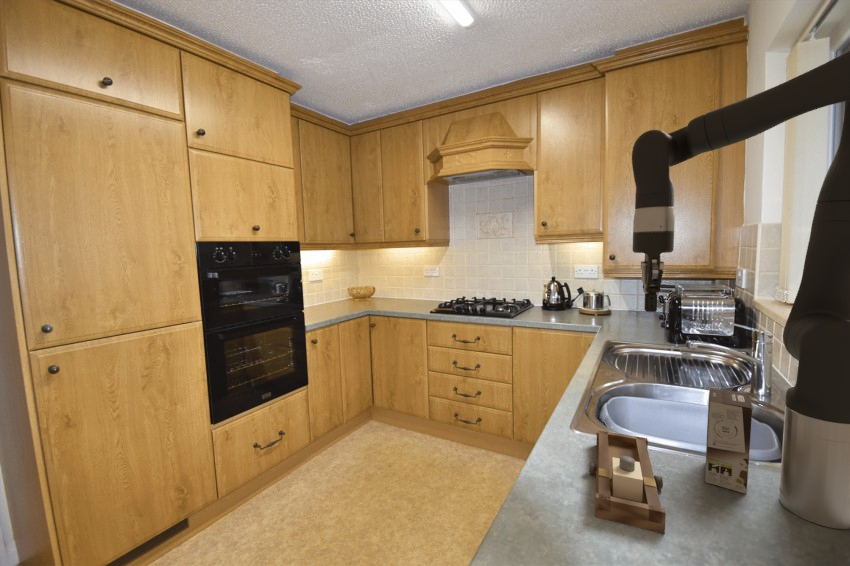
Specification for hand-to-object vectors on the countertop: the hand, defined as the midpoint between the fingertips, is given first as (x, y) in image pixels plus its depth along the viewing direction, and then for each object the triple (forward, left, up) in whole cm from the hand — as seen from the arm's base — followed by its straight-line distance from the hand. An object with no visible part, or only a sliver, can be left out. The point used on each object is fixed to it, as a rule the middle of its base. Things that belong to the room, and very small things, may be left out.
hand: (650, 311), depth 84 cm
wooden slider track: (+5, +15, -31) cm, 35 cm away
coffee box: (-13, +6, -31) cm, 34 cm away
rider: (+5, +20, -29) cm, 36 cm away
